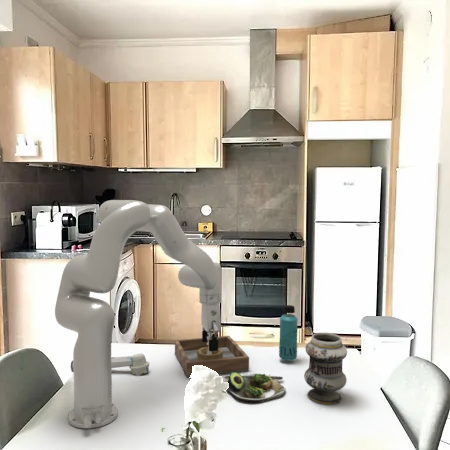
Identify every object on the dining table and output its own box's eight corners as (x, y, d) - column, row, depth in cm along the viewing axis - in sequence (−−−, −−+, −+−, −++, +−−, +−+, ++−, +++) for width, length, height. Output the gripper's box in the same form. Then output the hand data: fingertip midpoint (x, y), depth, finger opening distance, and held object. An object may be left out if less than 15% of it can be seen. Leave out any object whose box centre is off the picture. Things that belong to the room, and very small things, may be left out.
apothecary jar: (325, 410, 119) (326, 346, 118) (295, 393, 129) (296, 334, 128) (354, 399, 126) (356, 338, 124) (324, 384, 136) (325, 327, 135)
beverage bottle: (277, 363, 152) (278, 307, 151) (280, 356, 159) (281, 303, 157) (295, 365, 150) (296, 309, 149) (298, 359, 157) (299, 304, 155)
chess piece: (209, 355, 156) (209, 328, 156) (219, 359, 153) (219, 331, 153) (199, 359, 153) (199, 331, 152) (209, 363, 150) (210, 334, 149)
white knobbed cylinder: (75, 356, 147) (148, 348, 146) (78, 376, 148) (151, 367, 146) (68, 363, 142) (145, 354, 141) (72, 383, 142) (148, 374, 141)
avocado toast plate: (269, 373, 145) (269, 359, 145) (300, 395, 129) (300, 380, 129) (216, 383, 137) (216, 369, 136) (242, 408, 121) (242, 392, 120)
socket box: (248, 371, 145) (248, 357, 145) (186, 378, 139) (186, 363, 139) (228, 348, 167) (229, 335, 167) (174, 353, 161) (174, 340, 161)
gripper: (227, 303, 144) (227, 353, 146) (214, 292, 161) (213, 337, 162) (205, 304, 142) (205, 355, 143) (194, 293, 159) (194, 339, 160)
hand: (209, 346), depth 153 cm, fingers open, 9 cm apart
